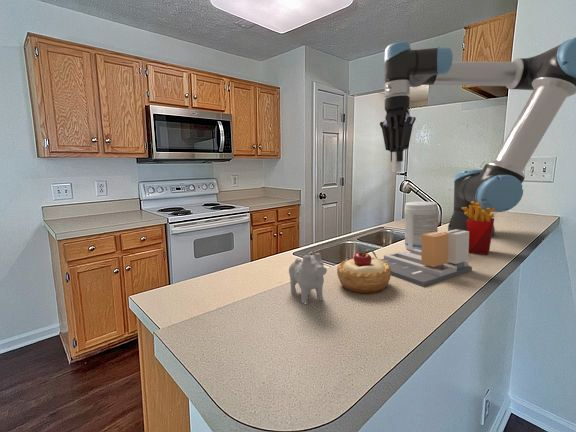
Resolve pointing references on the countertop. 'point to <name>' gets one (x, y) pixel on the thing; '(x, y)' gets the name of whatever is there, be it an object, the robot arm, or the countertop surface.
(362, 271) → the pastry
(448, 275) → the console board
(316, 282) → the dog figurine
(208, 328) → the countertop surface
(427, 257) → the fader knob
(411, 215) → the supplement tub
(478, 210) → the french fries
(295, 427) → the countertop surface
